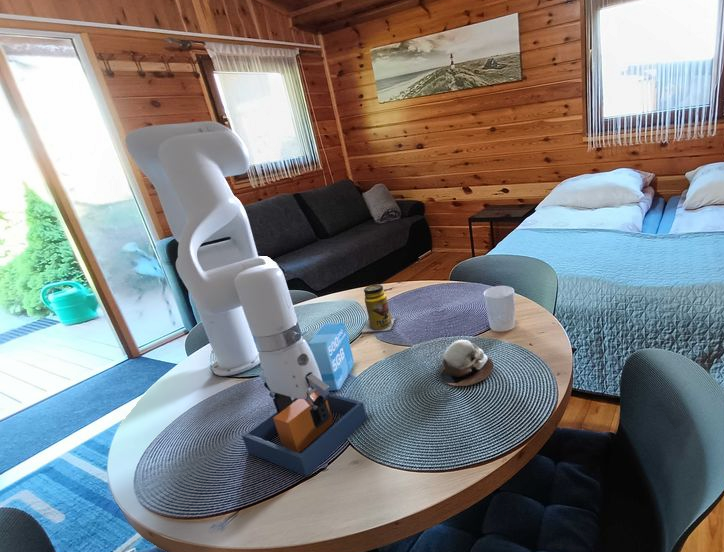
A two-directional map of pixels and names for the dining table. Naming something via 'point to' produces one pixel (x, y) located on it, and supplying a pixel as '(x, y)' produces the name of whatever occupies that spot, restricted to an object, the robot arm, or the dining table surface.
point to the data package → (332, 354)
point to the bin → (316, 451)
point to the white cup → (500, 307)
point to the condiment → (377, 309)
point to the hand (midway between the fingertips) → (304, 417)
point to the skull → (465, 364)
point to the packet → (299, 425)
